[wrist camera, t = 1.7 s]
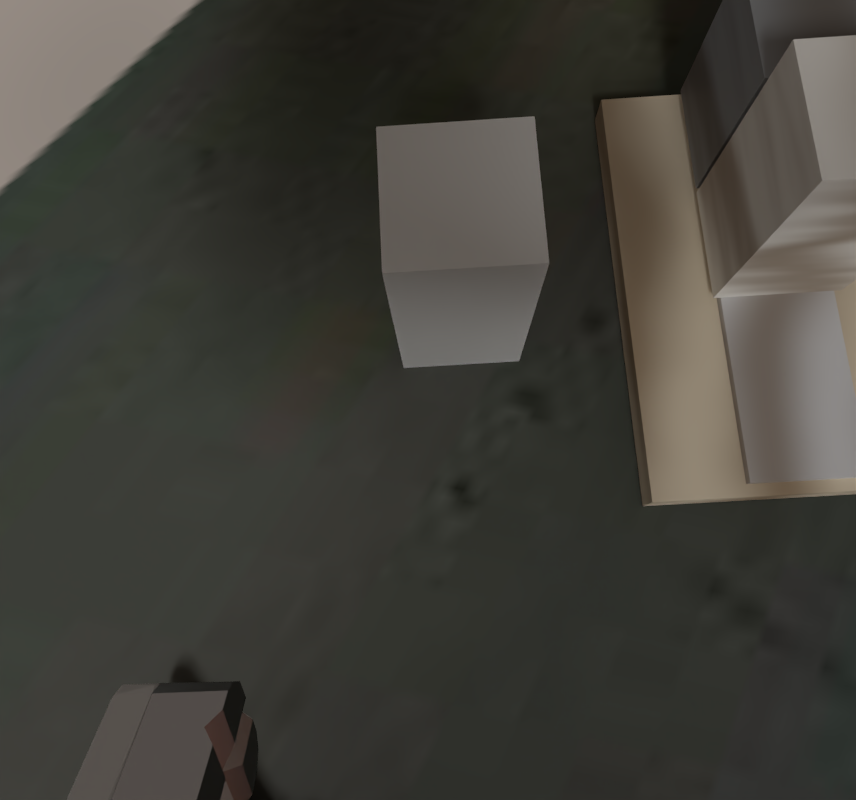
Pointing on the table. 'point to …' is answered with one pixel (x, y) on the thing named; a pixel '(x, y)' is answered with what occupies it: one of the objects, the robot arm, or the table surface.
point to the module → (461, 238)
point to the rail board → (675, 311)
